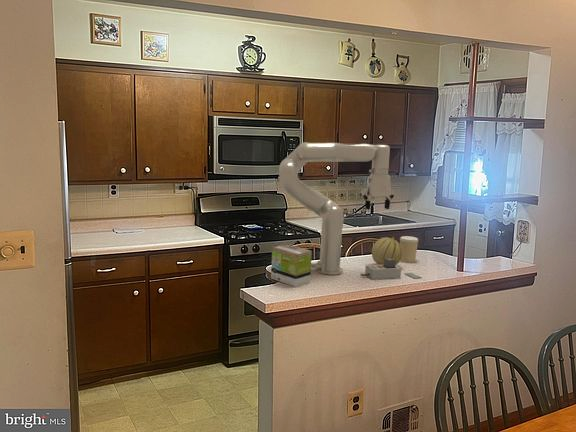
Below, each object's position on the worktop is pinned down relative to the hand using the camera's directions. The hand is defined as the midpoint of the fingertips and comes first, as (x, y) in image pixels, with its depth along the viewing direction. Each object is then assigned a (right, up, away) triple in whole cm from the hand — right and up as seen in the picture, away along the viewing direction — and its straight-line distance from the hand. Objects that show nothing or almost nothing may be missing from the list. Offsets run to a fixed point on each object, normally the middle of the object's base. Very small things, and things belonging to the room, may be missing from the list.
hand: (377, 208), depth 249 cm
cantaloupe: (+7, -28, +16) cm, 33 cm away
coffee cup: (+20, -27, +30) cm, 45 cm away
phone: (+17, -32, +2) cm, 36 cm away
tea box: (-40, -32, -14) cm, 53 cm away
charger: (+5, -30, 0) cm, 30 cm away
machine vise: (0, -31, -1) cm, 31 cm away
